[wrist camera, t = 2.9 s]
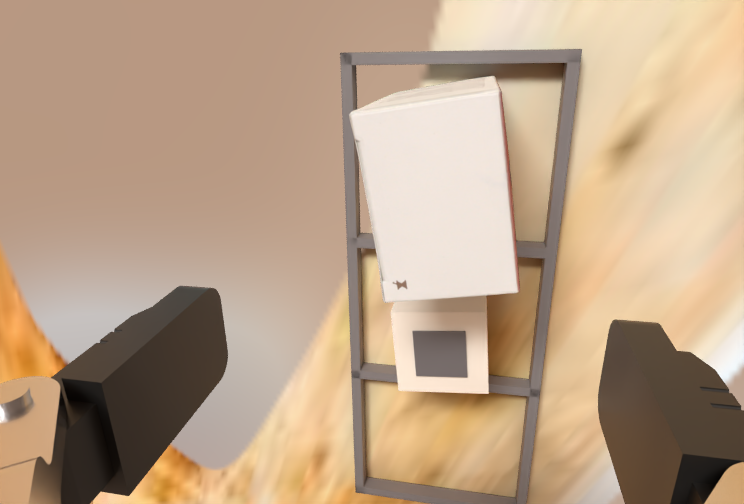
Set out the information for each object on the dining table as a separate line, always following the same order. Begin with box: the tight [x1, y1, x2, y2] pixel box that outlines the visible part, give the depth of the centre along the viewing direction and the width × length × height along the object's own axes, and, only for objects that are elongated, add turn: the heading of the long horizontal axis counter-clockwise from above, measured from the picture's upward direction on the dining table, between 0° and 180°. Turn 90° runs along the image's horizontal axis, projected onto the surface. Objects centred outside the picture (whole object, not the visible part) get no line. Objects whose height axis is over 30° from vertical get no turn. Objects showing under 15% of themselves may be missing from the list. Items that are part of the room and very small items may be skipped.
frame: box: [340, 49, 582, 504], centre depth 32 cm, size 30×12×1 cm, turn 1°
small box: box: [349, 76, 520, 303], centre depth 24 cm, size 8×6×10 cm
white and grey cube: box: [391, 295, 489, 394], centre depth 30 cm, size 5×5×5 cm
